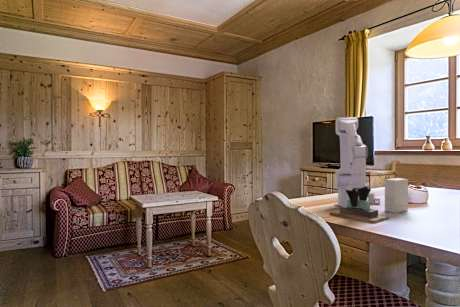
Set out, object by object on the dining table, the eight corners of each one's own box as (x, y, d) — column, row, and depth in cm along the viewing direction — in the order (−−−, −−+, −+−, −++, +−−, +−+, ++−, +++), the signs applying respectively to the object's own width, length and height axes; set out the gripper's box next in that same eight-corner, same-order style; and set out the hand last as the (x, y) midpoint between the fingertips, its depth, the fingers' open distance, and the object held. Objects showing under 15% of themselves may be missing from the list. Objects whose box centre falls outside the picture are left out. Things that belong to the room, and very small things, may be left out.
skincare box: (397, 208, 147) (397, 177, 146) (408, 211, 141) (408, 178, 141) (383, 210, 144) (383, 178, 143) (394, 213, 138) (394, 179, 138)
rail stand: (345, 210, 144) (345, 203, 144) (388, 218, 128) (388, 210, 128) (329, 214, 137) (329, 206, 137) (373, 223, 121) (373, 214, 121)
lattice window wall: (380, 204, 159) (380, 192, 158) (379, 204, 157) (379, 193, 157) (356, 201, 166) (356, 190, 166) (355, 202, 165) (355, 191, 165)
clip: (350, 212, 137) (350, 198, 137) (370, 215, 130) (370, 201, 130) (347, 212, 136) (347, 199, 135) (366, 216, 128) (366, 202, 128)
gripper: (357, 175, 125) (357, 209, 125) (376, 173, 133) (376, 204, 134) (342, 174, 130) (342, 206, 131) (360, 172, 139) (360, 202, 139)
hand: (358, 205), depth 133 cm, fingers open, 6 cm apart
